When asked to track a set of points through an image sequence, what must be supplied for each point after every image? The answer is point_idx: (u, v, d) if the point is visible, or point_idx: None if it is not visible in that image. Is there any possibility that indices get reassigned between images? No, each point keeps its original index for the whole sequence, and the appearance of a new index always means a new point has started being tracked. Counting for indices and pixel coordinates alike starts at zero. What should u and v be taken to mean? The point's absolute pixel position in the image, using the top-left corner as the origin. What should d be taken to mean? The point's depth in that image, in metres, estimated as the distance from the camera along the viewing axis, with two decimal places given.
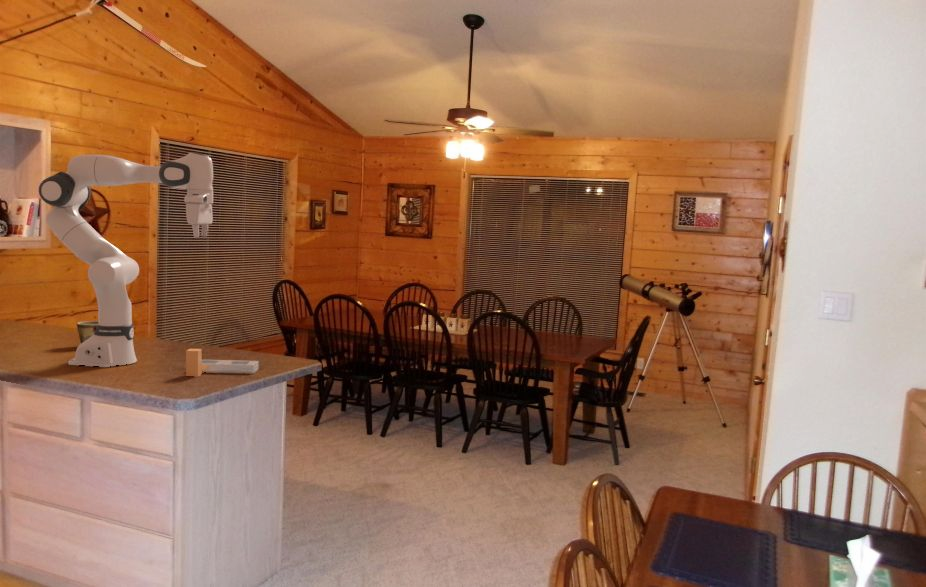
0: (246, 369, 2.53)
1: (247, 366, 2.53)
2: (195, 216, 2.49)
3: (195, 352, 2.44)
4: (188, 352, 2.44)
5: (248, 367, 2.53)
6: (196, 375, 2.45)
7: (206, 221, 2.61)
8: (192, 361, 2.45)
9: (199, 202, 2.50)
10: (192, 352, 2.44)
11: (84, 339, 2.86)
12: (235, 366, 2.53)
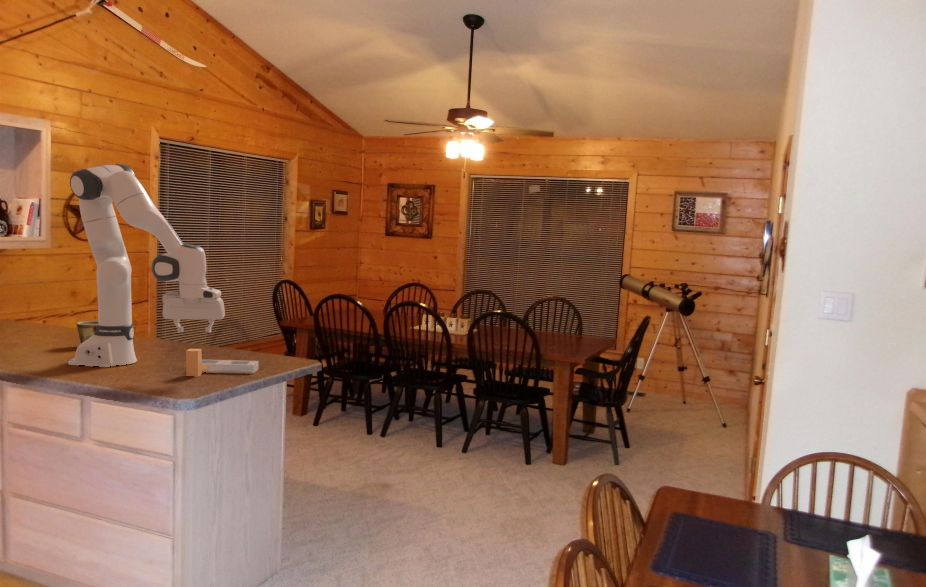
0: (246, 369, 2.53)
1: (247, 366, 2.53)
2: (224, 310, 2.46)
3: (195, 352, 2.44)
4: (188, 352, 2.44)
5: (248, 367, 2.53)
6: (196, 375, 2.45)
7: None
8: (192, 361, 2.45)
9: None
10: (192, 352, 2.44)
11: (84, 339, 2.86)
12: (235, 366, 2.53)
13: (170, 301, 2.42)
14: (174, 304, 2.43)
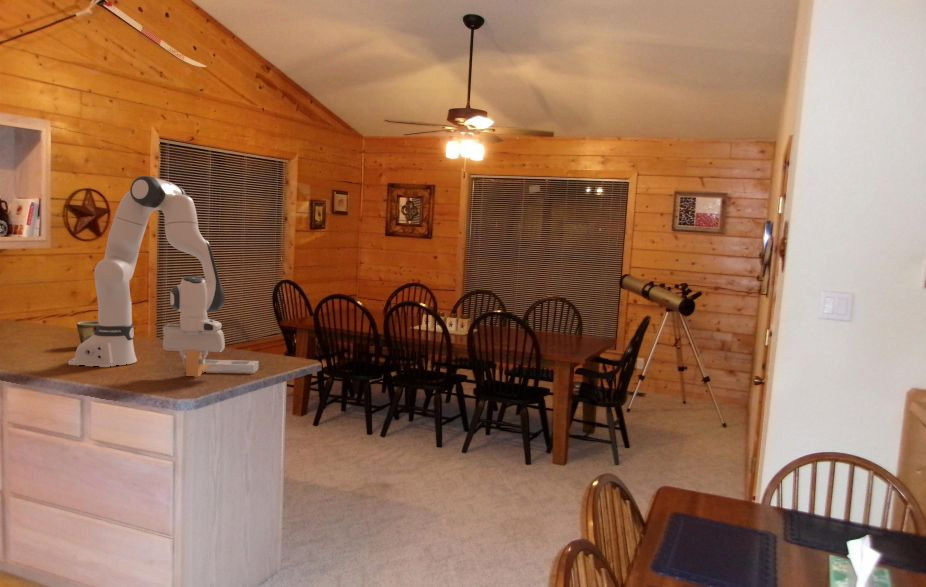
0: (246, 369, 2.53)
1: (247, 366, 2.53)
2: (224, 342, 2.48)
3: (195, 352, 2.44)
4: (188, 352, 2.44)
5: (248, 367, 2.53)
6: (196, 375, 2.45)
7: None
8: (192, 361, 2.45)
9: None
10: (192, 352, 2.44)
11: (84, 339, 2.86)
12: (235, 366, 2.53)
13: (171, 333, 2.44)
14: (174, 336, 2.44)
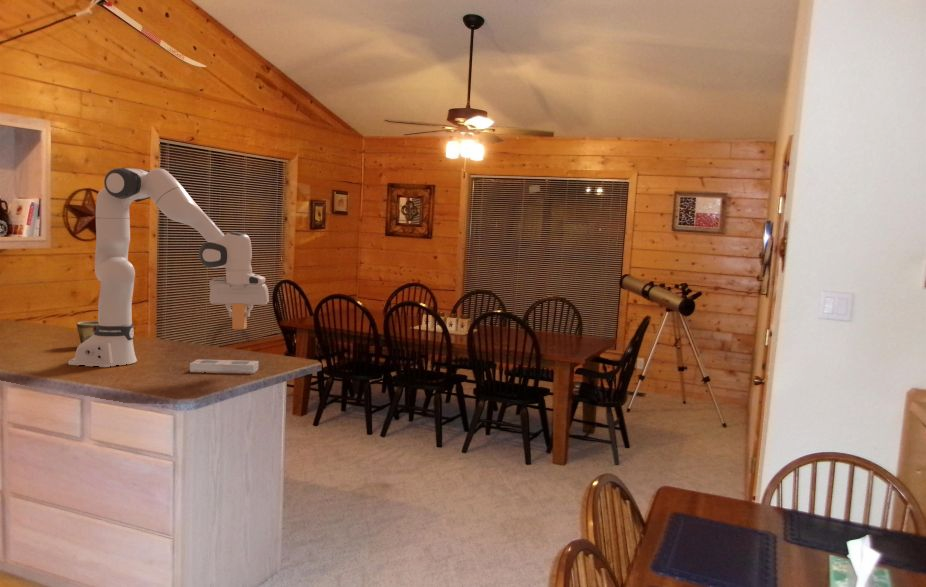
0: (246, 369, 2.53)
1: (247, 366, 2.53)
2: (268, 296, 2.55)
3: (241, 305, 2.52)
4: (234, 305, 2.52)
5: (248, 367, 2.53)
6: (242, 327, 2.53)
7: None
8: (238, 314, 2.52)
9: (264, 282, 2.56)
10: (238, 305, 2.52)
11: (84, 339, 2.86)
12: (235, 366, 2.53)
13: (217, 287, 2.51)
14: (221, 289, 2.52)
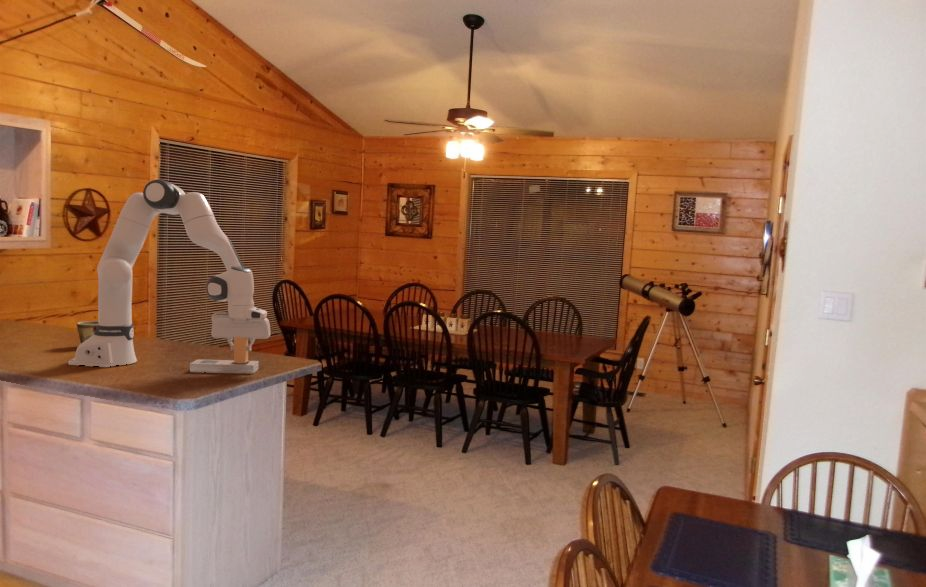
0: (246, 369, 2.53)
1: (247, 366, 2.53)
2: None
3: (243, 339, 2.54)
4: (236, 339, 2.54)
5: (248, 367, 2.53)
6: (244, 361, 2.55)
7: None
8: (240, 348, 2.54)
9: None
10: (240, 339, 2.54)
11: (84, 339, 2.86)
12: (235, 366, 2.53)
13: (219, 321, 2.53)
14: (223, 323, 2.54)
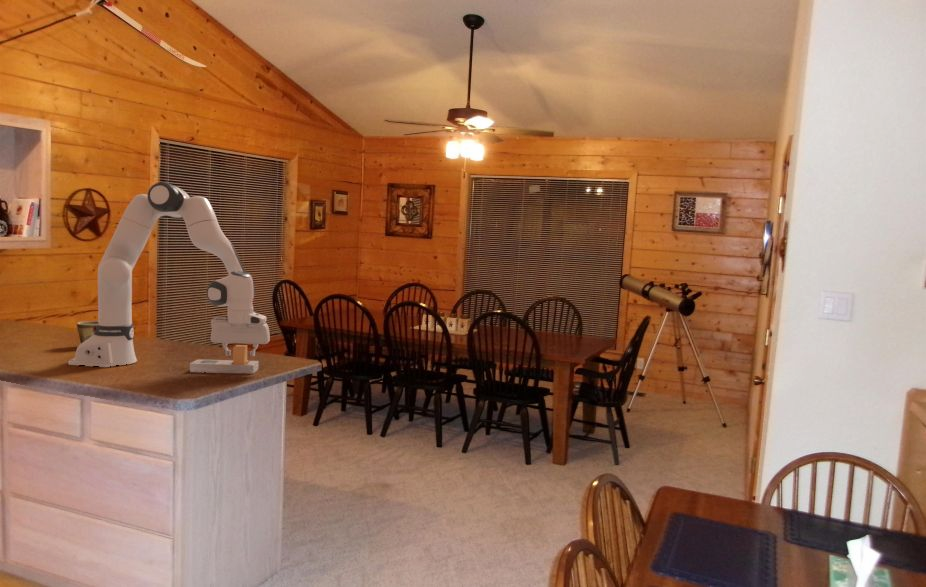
0: (246, 369, 2.53)
1: (247, 366, 2.53)
2: (269, 335, 2.57)
3: (242, 348, 2.54)
4: (235, 348, 2.54)
5: (248, 367, 2.53)
6: None
7: None
8: (239, 357, 2.54)
9: None
10: (239, 348, 2.54)
11: (84, 339, 2.86)
12: (235, 366, 2.53)
13: (218, 326, 2.53)
14: (222, 328, 2.54)
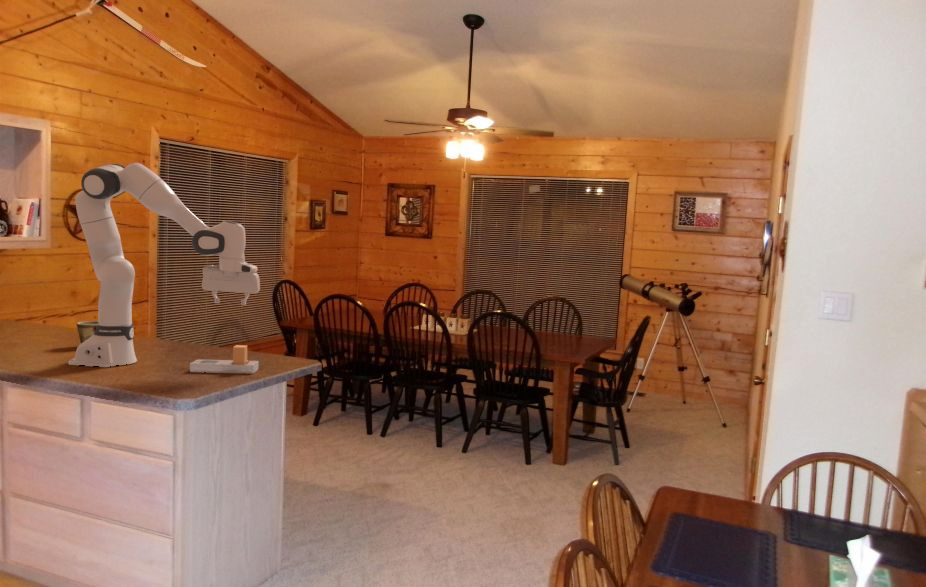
0: (246, 369, 2.53)
1: (247, 366, 2.53)
2: (259, 285, 2.62)
3: (242, 348, 2.54)
4: (235, 348, 2.54)
5: (248, 367, 2.53)
6: None
7: None
8: (239, 357, 2.54)
9: (256, 271, 2.62)
10: (239, 348, 2.54)
11: (84, 339, 2.86)
12: (235, 366, 2.53)
13: (210, 274, 2.58)
14: (213, 276, 2.58)
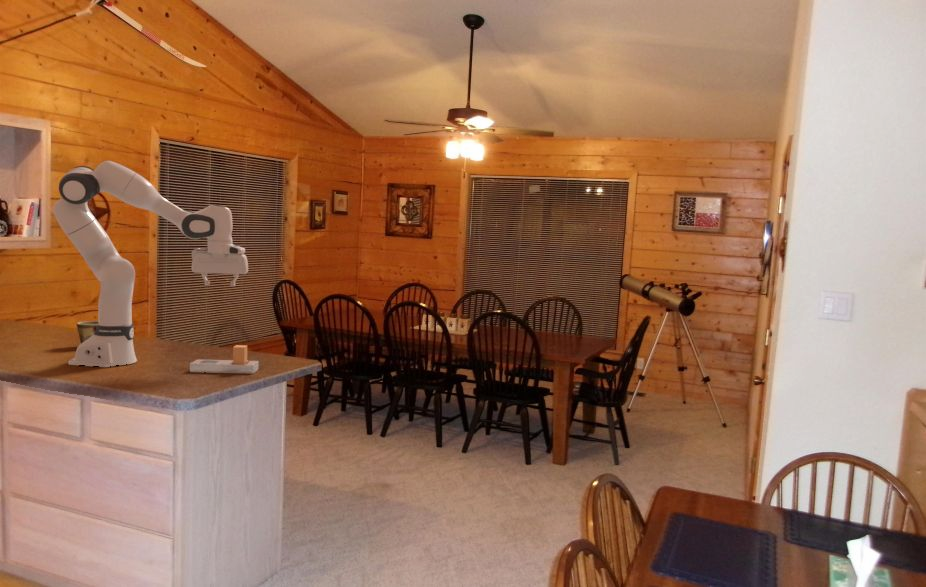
0: (246, 369, 2.53)
1: (247, 366, 2.53)
2: (247, 266, 2.69)
3: (242, 348, 2.54)
4: (235, 348, 2.54)
5: (248, 367, 2.53)
6: None
7: None
8: (239, 357, 2.54)
9: None
10: (239, 348, 2.54)
11: (84, 339, 2.86)
12: (235, 366, 2.53)
13: (199, 256, 2.65)
14: (202, 259, 2.65)
